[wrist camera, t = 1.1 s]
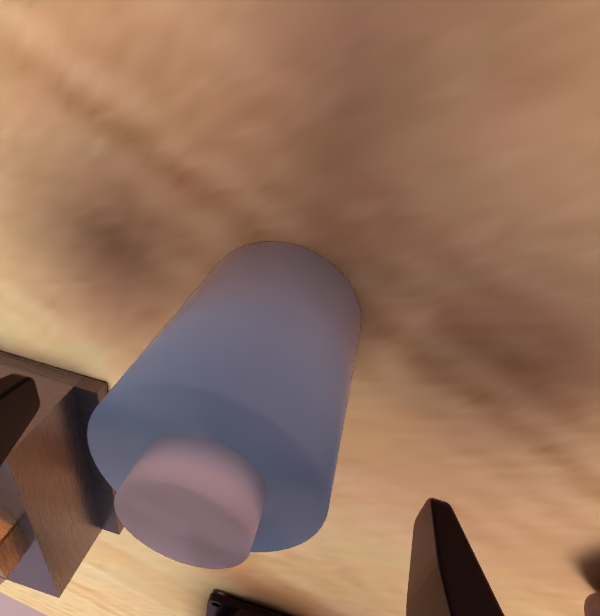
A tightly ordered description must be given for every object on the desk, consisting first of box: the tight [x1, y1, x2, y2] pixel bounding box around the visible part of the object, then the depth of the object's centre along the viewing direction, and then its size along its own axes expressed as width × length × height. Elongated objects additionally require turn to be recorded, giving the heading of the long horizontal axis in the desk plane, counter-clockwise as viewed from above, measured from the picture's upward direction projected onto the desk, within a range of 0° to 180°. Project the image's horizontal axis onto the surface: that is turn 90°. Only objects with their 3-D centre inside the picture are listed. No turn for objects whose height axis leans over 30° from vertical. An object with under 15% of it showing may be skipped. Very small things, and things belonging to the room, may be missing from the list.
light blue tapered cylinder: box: [87, 242, 361, 569], centre depth 10 cm, size 5×5×7 cm
